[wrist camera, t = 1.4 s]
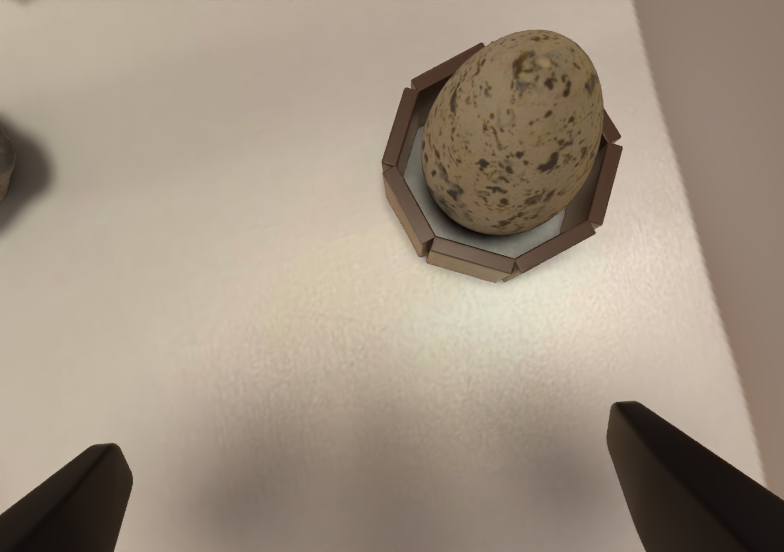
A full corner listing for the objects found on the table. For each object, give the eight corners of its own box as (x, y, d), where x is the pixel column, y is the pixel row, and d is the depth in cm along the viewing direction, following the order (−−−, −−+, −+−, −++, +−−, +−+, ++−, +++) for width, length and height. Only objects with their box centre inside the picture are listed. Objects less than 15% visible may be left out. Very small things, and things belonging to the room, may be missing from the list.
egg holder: (621, 218, 22) (660, 198, 19) (449, 312, 22) (457, 308, 18) (523, 57, 23) (543, 8, 19) (357, 145, 23) (348, 112, 19)
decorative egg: (506, 275, 22) (586, 232, 12) (392, 198, 23) (379, 95, 13) (582, 164, 22) (721, 34, 12) (469, 90, 23) (515, -92, 13)
